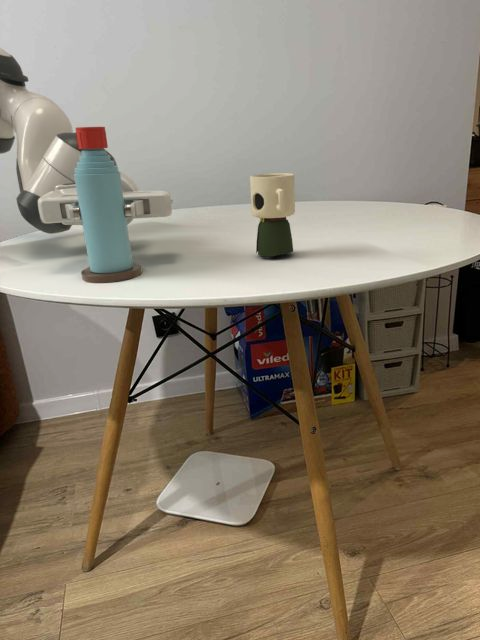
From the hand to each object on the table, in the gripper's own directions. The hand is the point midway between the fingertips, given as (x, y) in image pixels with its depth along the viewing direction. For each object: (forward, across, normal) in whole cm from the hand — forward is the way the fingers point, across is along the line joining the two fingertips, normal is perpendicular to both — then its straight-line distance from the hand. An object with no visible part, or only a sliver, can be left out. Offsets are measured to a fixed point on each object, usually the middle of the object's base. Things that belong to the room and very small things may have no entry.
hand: (102, 212), depth 73 cm
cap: (-1, 0, +11) cm, 11 cm away
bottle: (-1, 0, -8) cm, 9 cm away
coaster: (-1, 0, -10) cm, 10 cm away
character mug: (-4, -27, -9) cm, 29 cm away
